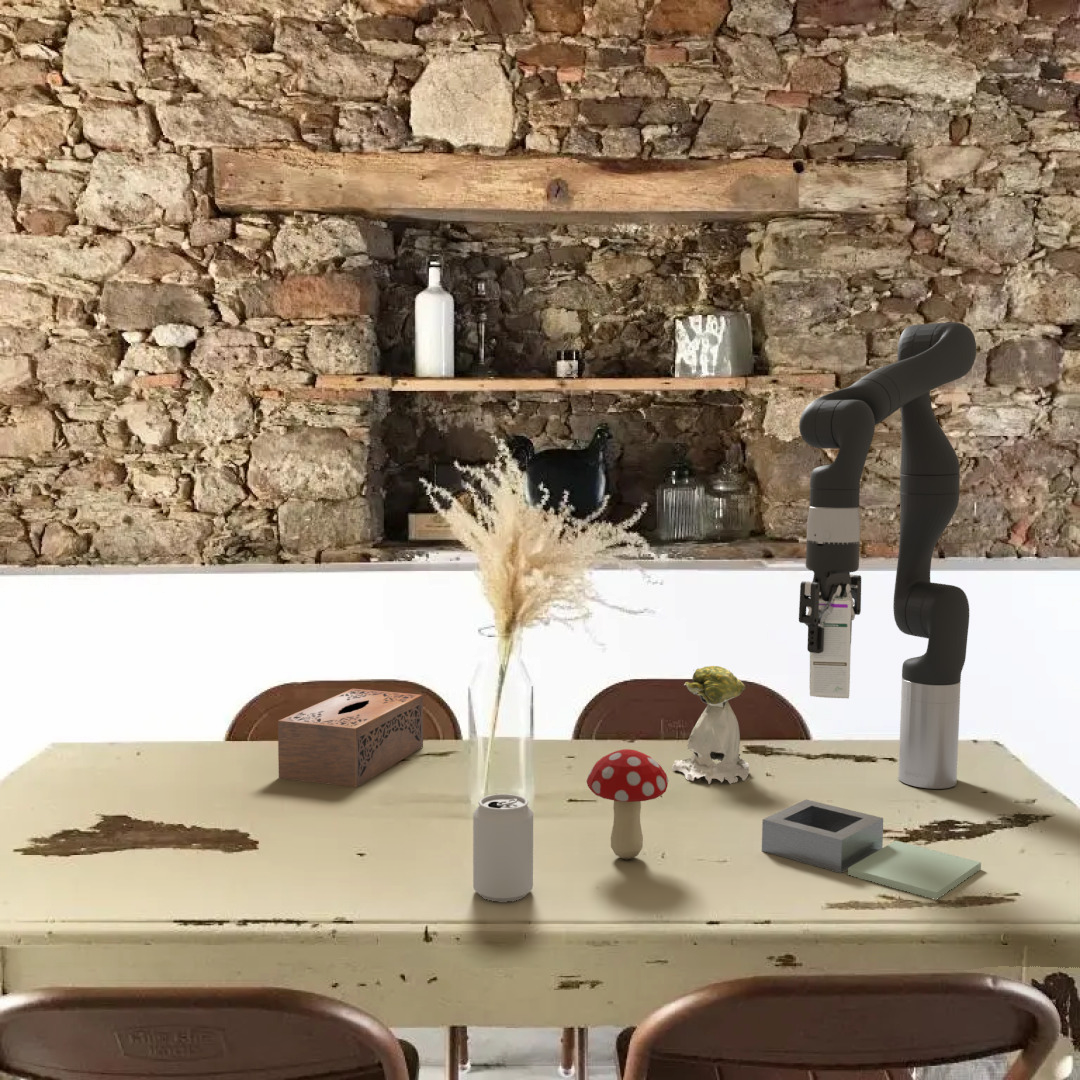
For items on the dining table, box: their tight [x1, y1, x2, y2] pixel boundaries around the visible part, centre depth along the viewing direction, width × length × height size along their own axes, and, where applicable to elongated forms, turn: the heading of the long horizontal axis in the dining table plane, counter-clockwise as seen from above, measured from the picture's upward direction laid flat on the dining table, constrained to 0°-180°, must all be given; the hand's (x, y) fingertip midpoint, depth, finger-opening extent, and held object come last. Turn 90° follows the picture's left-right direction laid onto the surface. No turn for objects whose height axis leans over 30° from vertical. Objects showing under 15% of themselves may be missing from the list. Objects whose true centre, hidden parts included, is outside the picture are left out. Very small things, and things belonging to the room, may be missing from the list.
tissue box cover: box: [277, 688, 424, 788], centre depth 203 cm, size 26×14×10 cm, turn 161°
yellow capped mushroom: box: [671, 665, 750, 785], centre depth 197 cm, size 12×13×18 cm
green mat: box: [847, 840, 982, 900], centre depth 154 cm, size 14×12×1 cm
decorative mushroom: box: [586, 748, 669, 860], centre depth 158 cm, size 11×11×15 cm
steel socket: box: [761, 799, 884, 874], centre depth 162 cm, size 12×12×4 cm
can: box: [472, 793, 534, 903], centre depth 146 cm, size 8×8×12 cm
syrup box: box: [809, 596, 852, 699], centre depth 171 cm, size 6×6×14 cm
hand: (829, 648), depth 171 cm, fingers closed on syrup box, 8 cm apart
